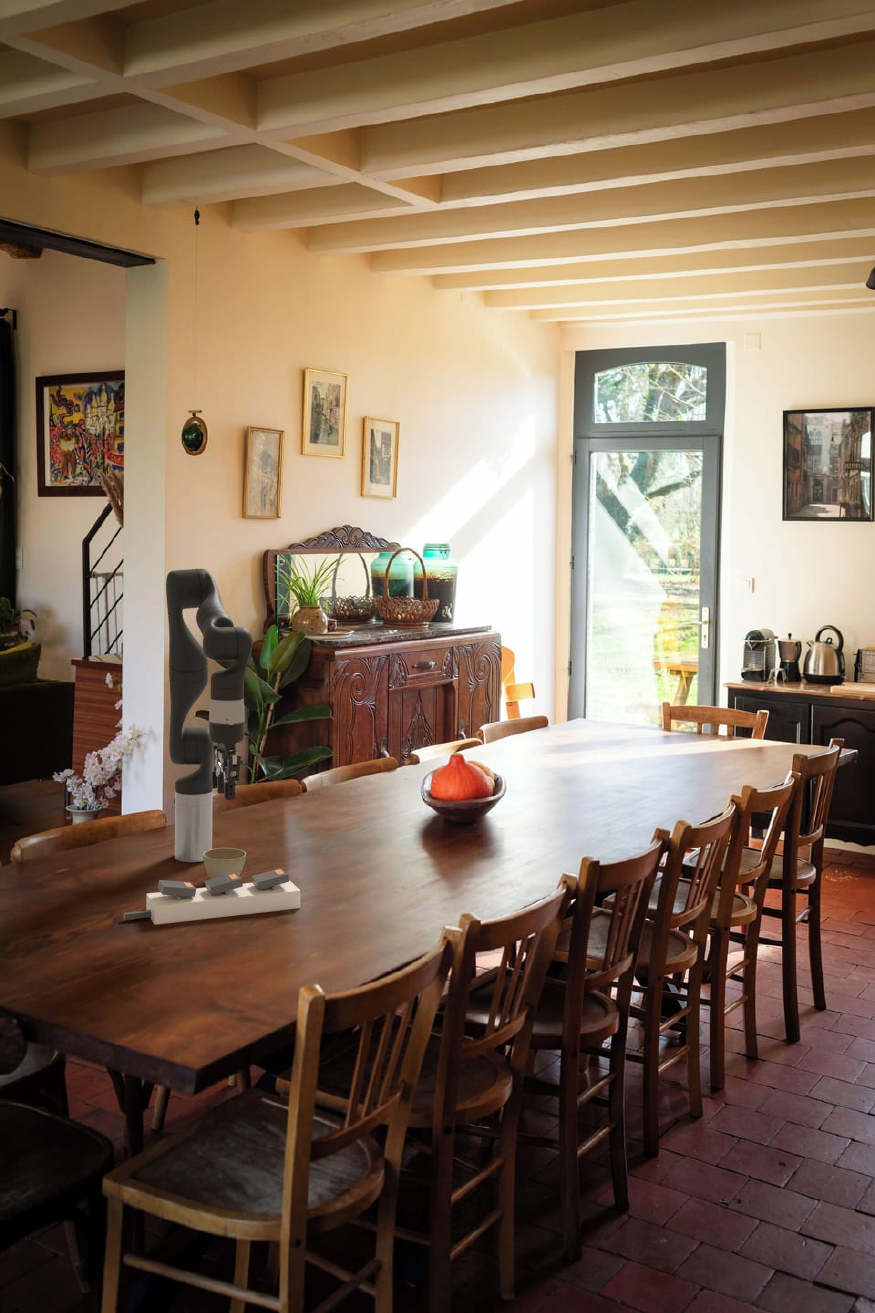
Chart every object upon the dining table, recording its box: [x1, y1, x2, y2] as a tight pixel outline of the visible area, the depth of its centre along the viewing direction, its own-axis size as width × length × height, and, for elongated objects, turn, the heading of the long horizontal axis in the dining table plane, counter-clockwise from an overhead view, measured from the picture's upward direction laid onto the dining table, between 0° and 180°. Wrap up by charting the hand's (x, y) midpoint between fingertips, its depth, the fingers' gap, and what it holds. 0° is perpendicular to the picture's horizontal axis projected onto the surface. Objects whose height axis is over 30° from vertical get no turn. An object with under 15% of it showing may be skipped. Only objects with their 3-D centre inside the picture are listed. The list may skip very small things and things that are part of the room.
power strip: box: [123, 879, 302, 926], centre depth 255 cm, size 9×38×5 cm, turn 115°
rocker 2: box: [204, 873, 244, 895], centre depth 256 cm, size 5×7×2 cm
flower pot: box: [203, 847, 247, 880], centre depth 275 cm, size 10×10×7 cm
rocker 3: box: [251, 867, 290, 890], centre depth 260 cm, size 5×7×2 cm
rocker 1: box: [157, 879, 197, 897], centre depth 252 cm, size 5×7×2 cm
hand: (226, 796), depth 254 cm, fingers open, 5 cm apart
